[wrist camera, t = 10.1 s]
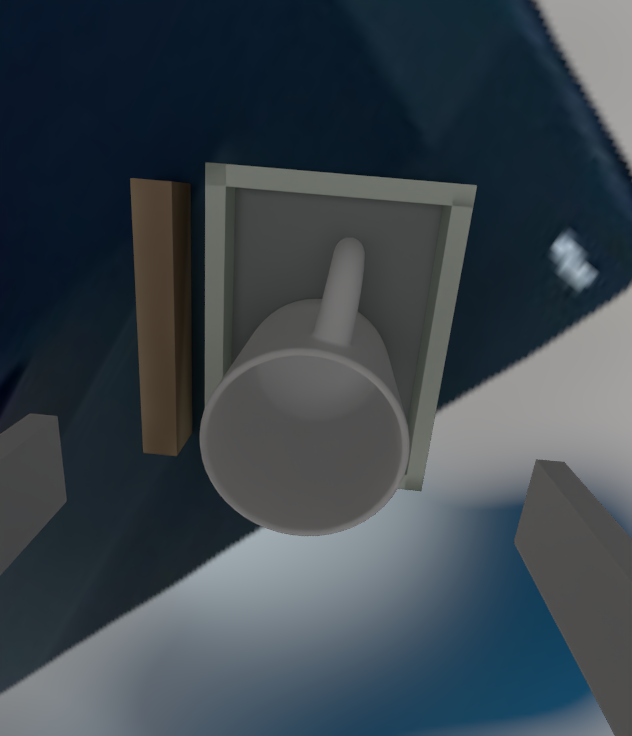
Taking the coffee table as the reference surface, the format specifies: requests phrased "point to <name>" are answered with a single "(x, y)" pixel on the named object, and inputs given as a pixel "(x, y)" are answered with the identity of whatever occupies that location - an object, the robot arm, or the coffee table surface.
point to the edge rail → (163, 311)
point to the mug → (309, 414)
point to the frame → (313, 260)
